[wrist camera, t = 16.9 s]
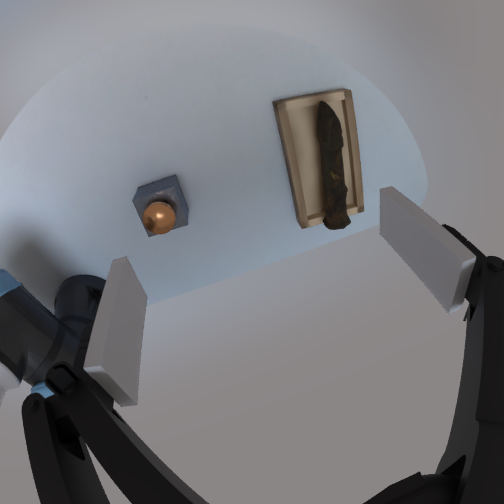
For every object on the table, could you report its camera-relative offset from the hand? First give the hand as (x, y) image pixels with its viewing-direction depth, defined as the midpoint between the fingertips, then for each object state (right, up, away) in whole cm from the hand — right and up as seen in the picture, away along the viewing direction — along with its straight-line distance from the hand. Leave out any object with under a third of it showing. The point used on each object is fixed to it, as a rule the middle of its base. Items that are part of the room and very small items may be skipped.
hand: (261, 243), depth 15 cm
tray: (+10, +14, +31) cm, 35 cm away
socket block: (-14, +8, +30) cm, 34 cm away
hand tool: (+10, +12, +29) cm, 33 cm away
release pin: (-14, +8, +30) cm, 34 cm away
